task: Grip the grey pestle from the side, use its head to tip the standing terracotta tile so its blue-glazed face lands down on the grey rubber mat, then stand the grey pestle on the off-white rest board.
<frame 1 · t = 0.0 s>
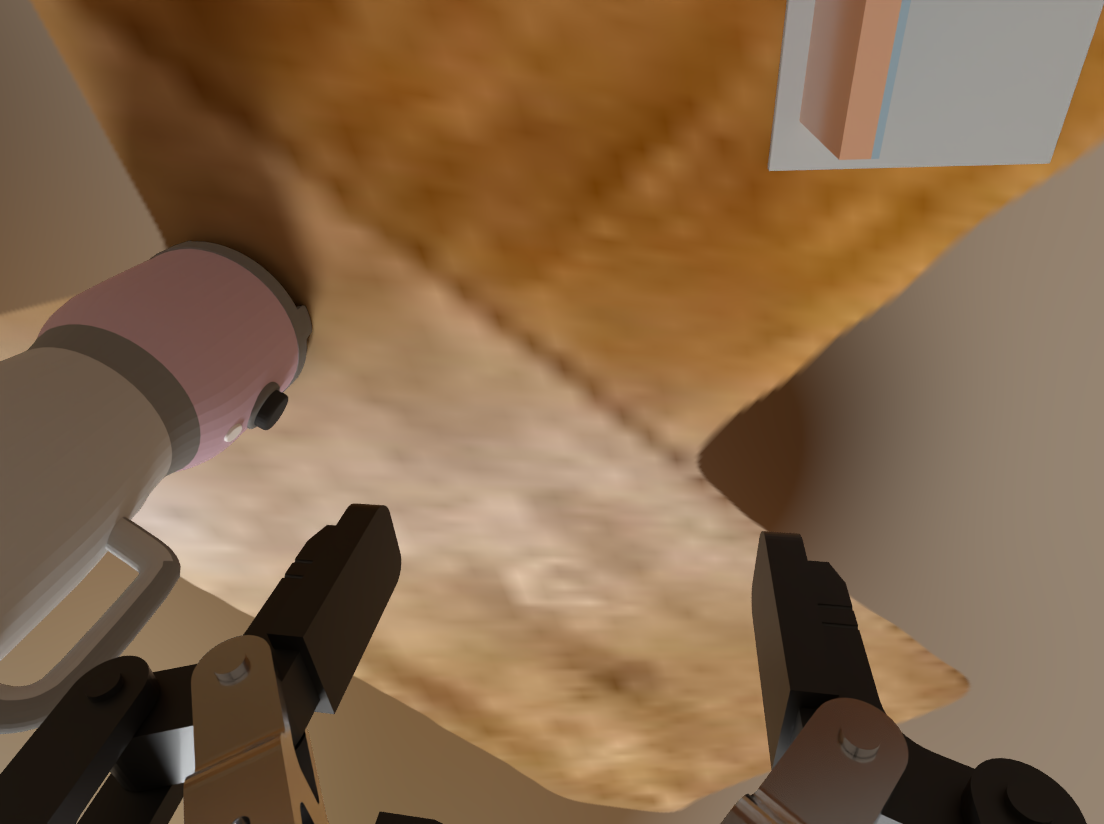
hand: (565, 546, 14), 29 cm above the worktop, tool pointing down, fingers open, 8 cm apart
mat: (931, 25, 31), on the worktop
tile: (826, 32, 32), point 1 cm above the worktop, touching mat
blender: (257, 327, 48), on the worktop
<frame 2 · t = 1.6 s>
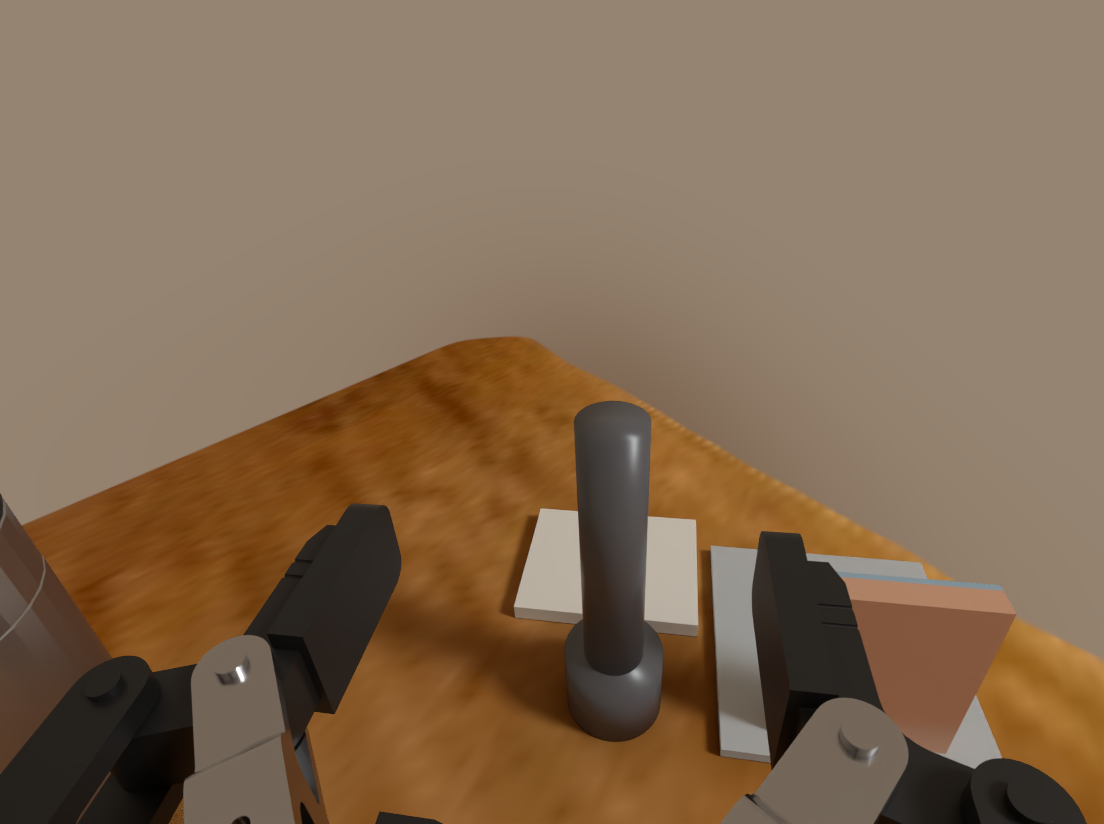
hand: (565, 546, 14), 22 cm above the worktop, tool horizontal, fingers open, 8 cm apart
grey pestle: (613, 696, 35), on the worktop
mat: (831, 650, 36), on the worktop
tile: (853, 728, 32), point 1 cm above the worktop, touching mat
rest board: (610, 571, 42), on the worktop
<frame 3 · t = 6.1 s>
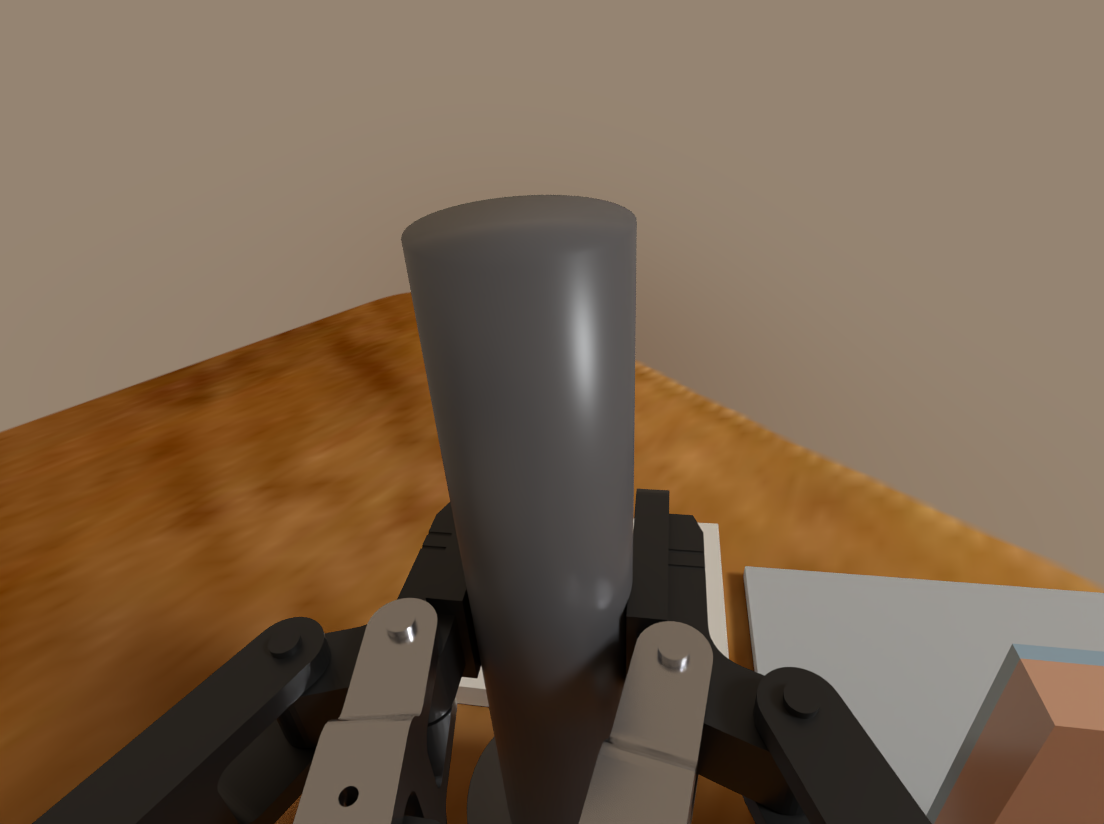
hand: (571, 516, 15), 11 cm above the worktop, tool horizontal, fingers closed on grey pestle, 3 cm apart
mat: (983, 765, 20), on the worktop
rest board: (580, 610, 25), on the worktop
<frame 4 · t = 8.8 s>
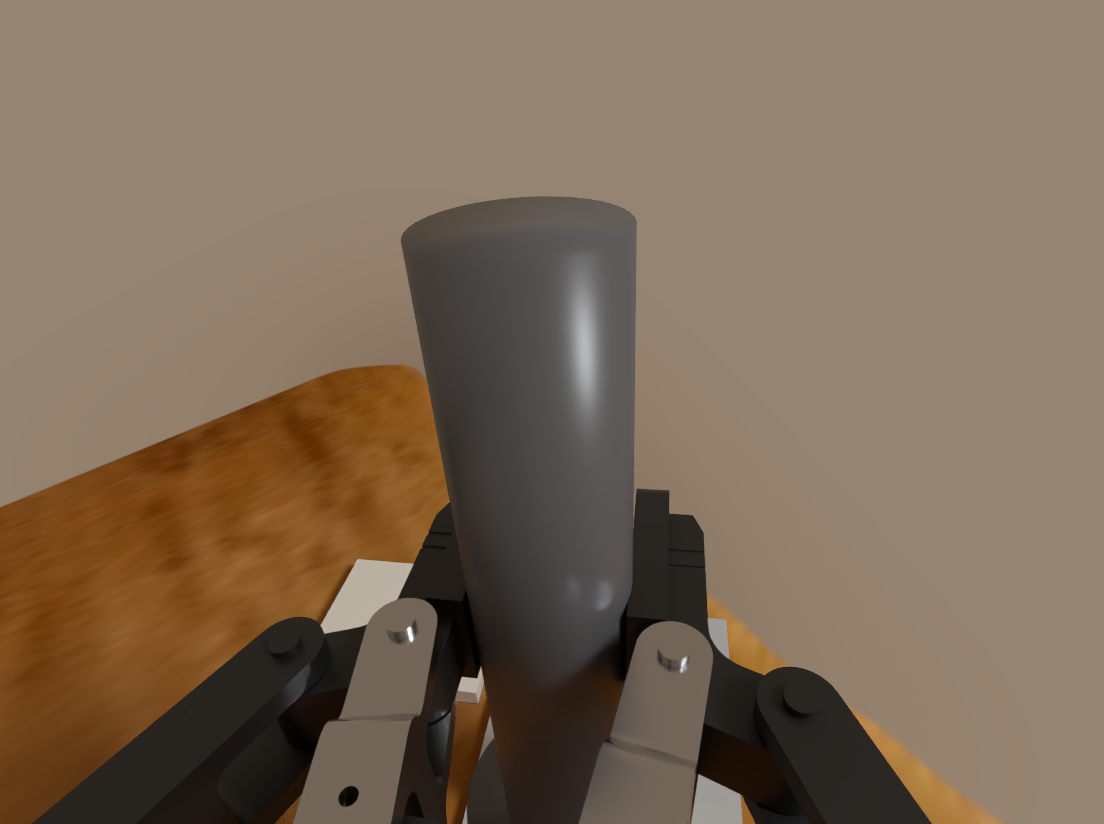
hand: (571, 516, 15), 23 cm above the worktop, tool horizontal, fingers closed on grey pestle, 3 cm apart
mat: (610, 719, 35), on the worktop
rest board: (412, 628, 41), on the worktop
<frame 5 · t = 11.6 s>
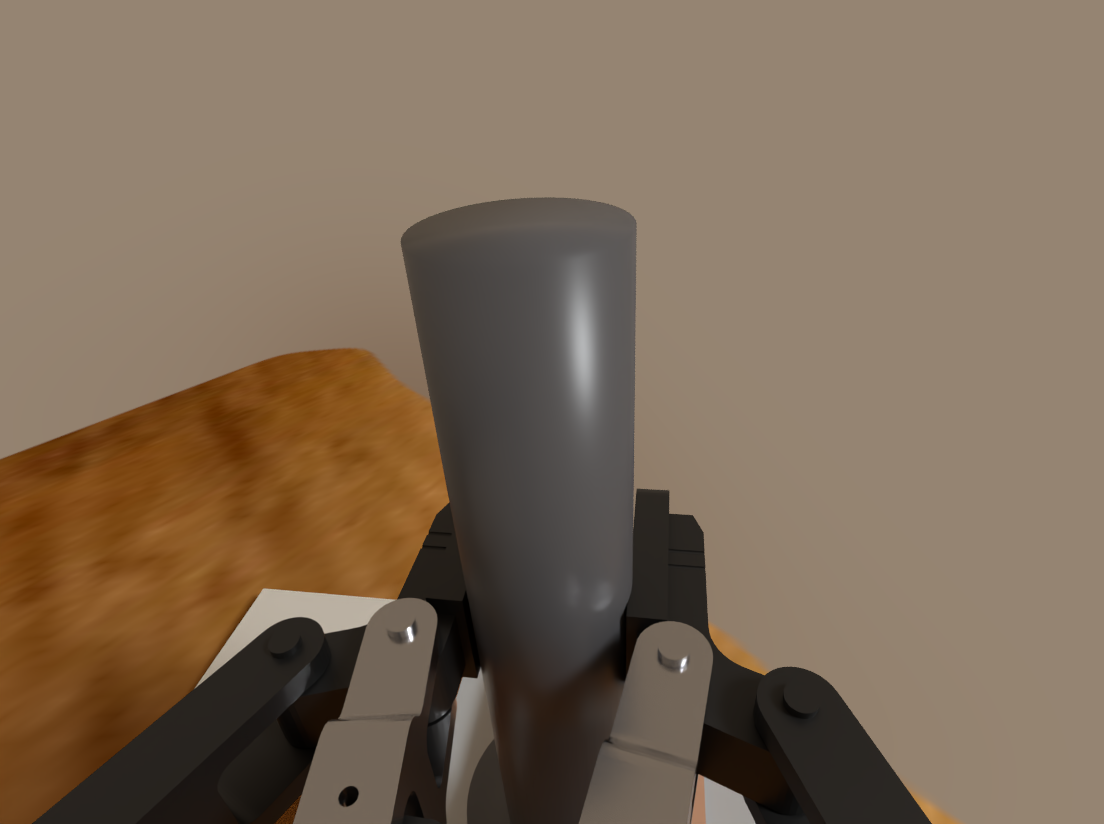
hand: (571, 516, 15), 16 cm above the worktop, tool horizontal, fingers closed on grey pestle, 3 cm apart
rest board: (326, 686, 30), on the worktop
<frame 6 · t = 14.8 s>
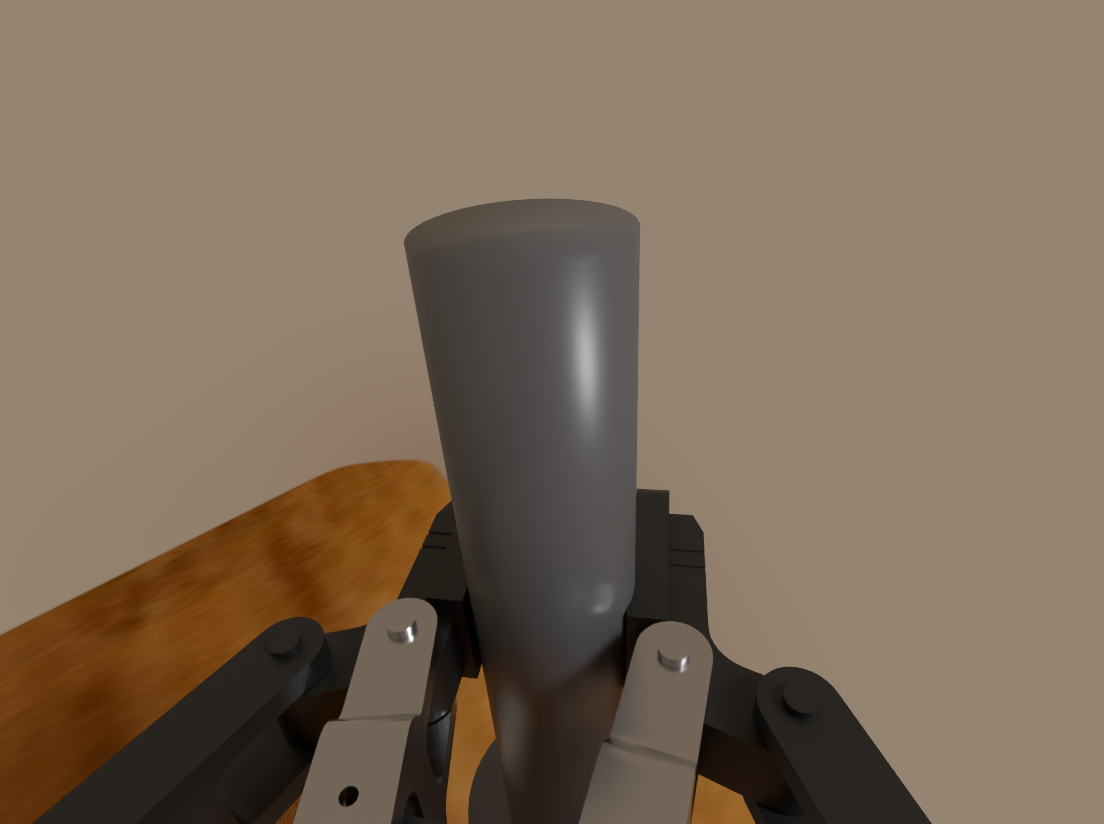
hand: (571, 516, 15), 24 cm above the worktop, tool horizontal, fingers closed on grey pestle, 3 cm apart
when the fingers open (13 cm above the worktop, at t = 17.6 s): grey pestle drops 1 cm, resting on rest board.
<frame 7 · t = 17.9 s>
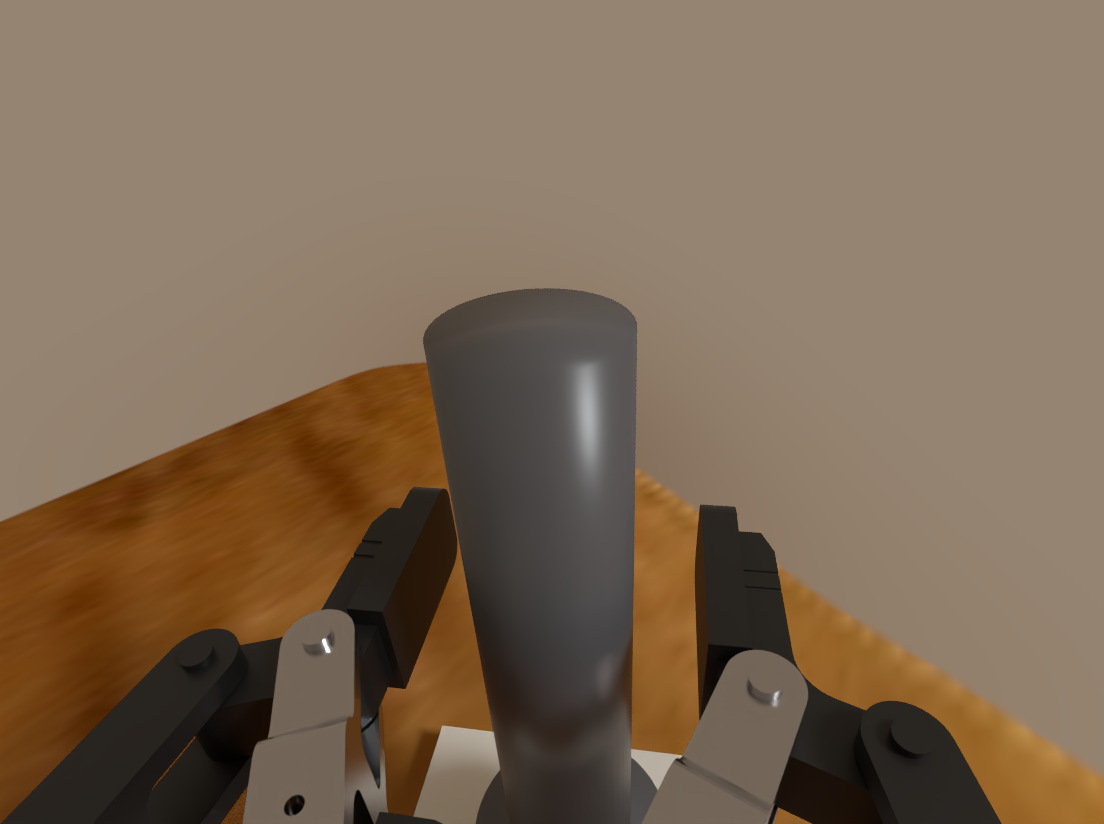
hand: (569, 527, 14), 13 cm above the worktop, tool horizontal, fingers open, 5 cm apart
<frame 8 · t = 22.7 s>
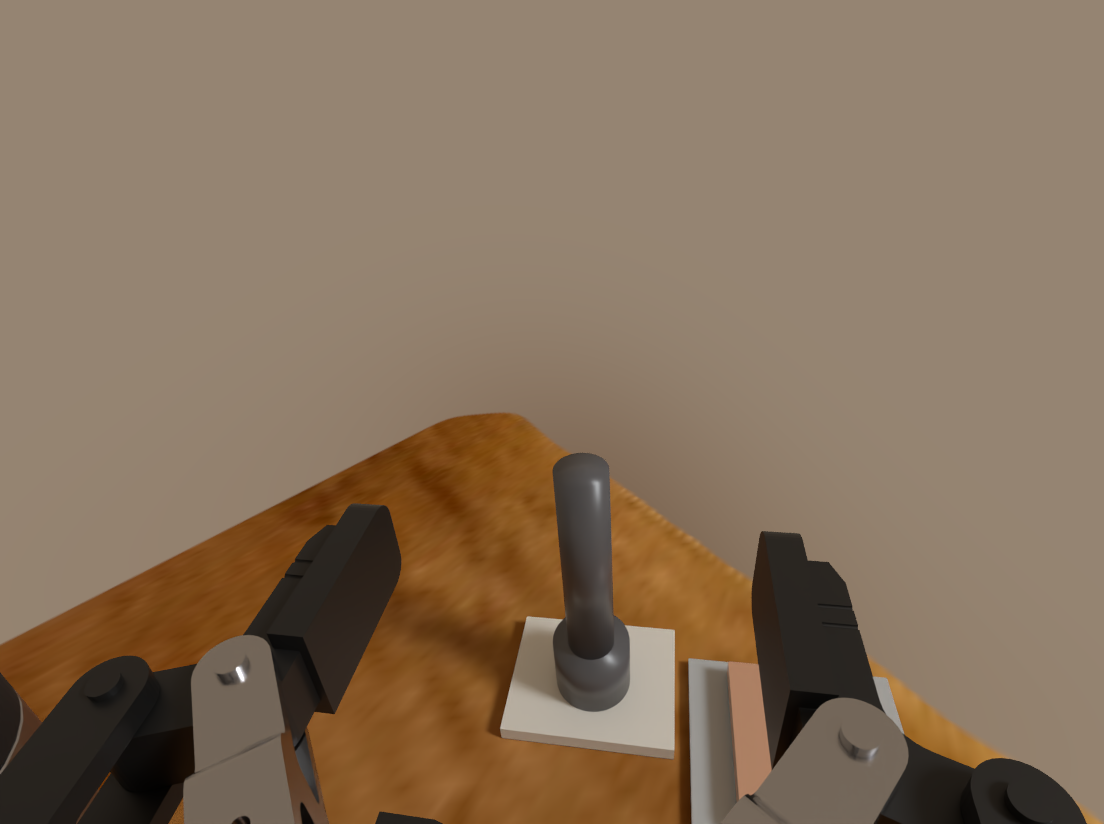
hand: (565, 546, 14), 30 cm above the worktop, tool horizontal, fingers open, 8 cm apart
grey pestle: (593, 677, 44), point 1 cm above the worktop, touching rest board
mat: (800, 775, 38), on the worktop
rest board: (593, 685, 44), on the worktop
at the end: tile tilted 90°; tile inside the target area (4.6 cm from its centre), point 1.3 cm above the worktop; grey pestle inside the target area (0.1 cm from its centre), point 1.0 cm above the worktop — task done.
